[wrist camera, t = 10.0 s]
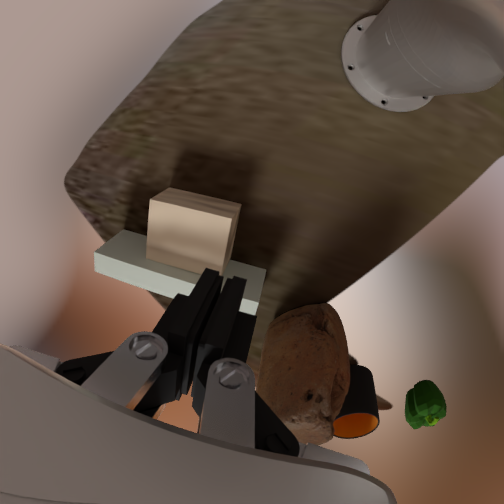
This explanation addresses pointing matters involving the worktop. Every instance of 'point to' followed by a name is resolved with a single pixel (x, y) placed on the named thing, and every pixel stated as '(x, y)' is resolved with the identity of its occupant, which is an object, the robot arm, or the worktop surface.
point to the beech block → (191, 230)
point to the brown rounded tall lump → (305, 371)
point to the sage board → (167, 270)
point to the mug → (358, 406)
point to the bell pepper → (424, 405)
